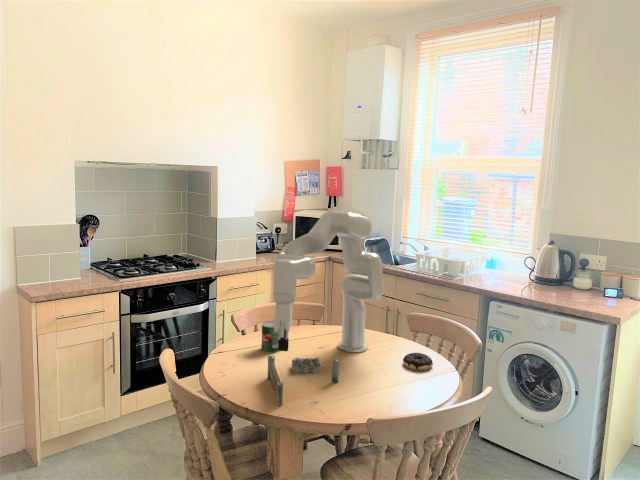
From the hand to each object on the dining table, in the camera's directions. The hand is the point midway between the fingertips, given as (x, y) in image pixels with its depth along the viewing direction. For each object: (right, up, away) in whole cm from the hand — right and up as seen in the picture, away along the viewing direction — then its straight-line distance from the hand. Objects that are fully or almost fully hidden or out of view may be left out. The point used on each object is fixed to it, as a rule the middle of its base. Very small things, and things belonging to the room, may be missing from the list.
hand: (283, 350), depth 170 cm
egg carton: (+7, -13, +23) cm, 27 cm away
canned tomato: (-8, -9, +42) cm, 44 cm away
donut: (+51, -13, +30) cm, 61 cm away
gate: (-3, -14, +2) cm, 15 cm away
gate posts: (+6, -14, +13) cm, 20 cm away
